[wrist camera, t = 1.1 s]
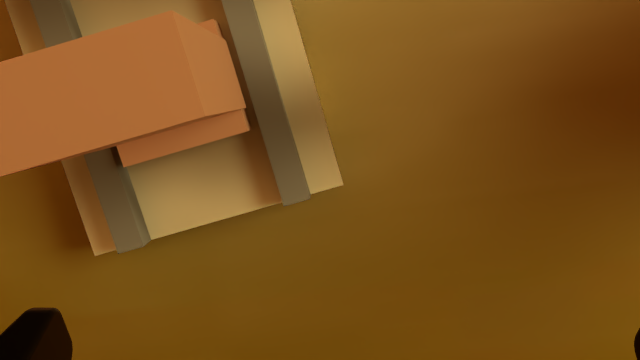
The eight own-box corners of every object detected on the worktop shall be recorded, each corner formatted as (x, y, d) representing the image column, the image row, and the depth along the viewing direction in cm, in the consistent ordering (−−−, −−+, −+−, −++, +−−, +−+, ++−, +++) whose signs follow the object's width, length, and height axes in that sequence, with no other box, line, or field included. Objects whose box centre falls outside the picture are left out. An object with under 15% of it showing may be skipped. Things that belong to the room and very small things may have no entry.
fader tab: (256, 127, 22) (216, 150, 14) (129, 165, 22) (7, 210, 14) (224, 21, 22) (160, -27, 13) (93, 60, 22) (-56, 39, 13)
